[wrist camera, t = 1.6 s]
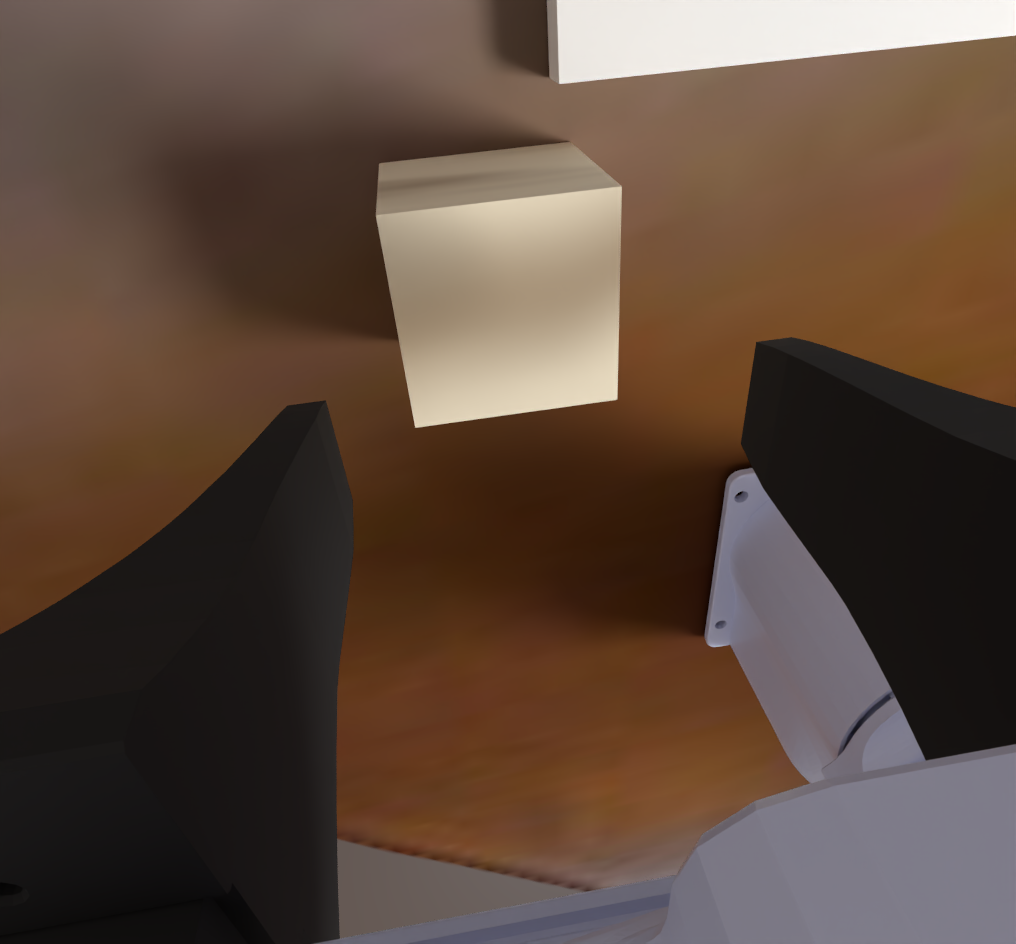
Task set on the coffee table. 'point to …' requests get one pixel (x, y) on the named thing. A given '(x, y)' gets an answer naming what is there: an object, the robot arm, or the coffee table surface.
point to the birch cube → (503, 280)
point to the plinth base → (750, 31)
